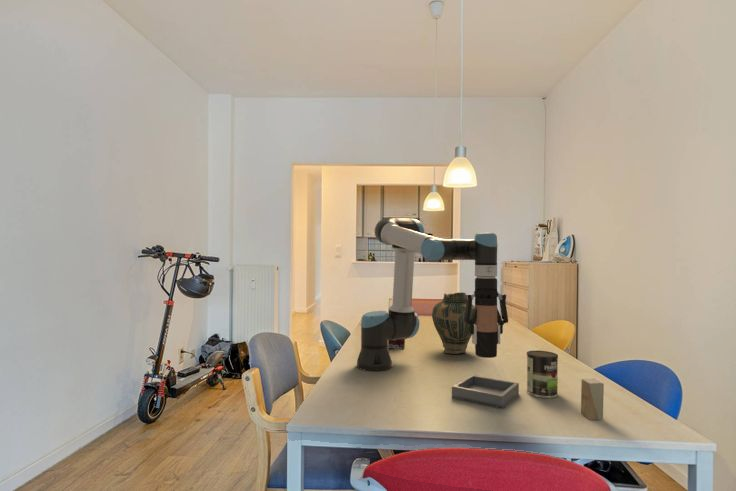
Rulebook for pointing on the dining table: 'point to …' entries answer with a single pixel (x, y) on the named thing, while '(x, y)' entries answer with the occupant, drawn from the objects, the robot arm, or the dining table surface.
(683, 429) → the dining table surface
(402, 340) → the supplement box
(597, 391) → the box
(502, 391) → the bin
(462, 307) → the vase
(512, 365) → the dining table surface
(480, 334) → the travel mug
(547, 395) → the coffee can
